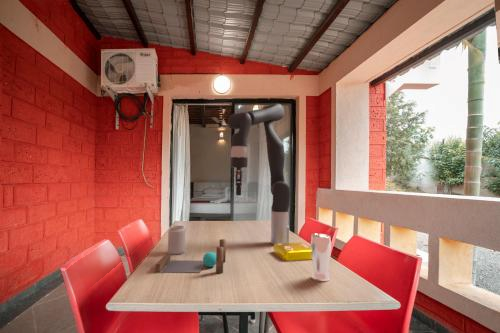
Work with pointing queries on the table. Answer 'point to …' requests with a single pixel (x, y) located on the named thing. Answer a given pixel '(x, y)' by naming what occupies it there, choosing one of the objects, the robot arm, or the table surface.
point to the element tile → (293, 251)
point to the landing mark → (183, 266)
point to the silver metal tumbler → (320, 256)
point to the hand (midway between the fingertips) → (238, 195)
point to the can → (176, 240)
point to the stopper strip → (162, 262)
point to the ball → (209, 259)
